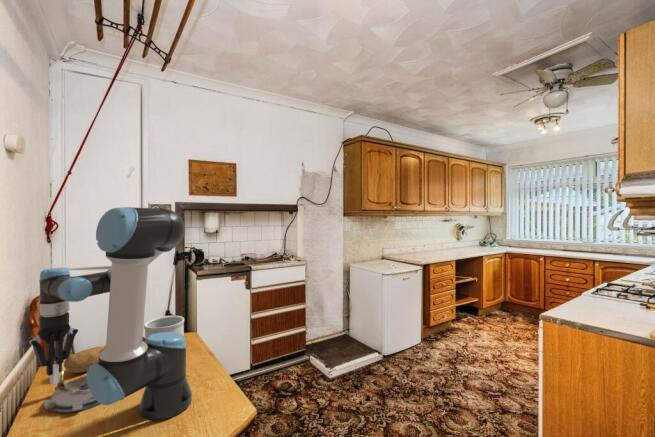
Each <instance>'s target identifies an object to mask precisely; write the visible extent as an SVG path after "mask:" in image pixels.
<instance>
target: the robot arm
mask: <svg viewBox="0 0 655 437" xmlns="http://www.w3.org/2000/svg"><path fill="white" fill-rule="evenodd" d="M95 231H96V232H95V240H96V241H97V247H98V248H99V249H100V250H101V251H102V252H104V253H105V258H106V259H107V260H109V261H110V262H111V267H110V268H109V269H108V270H106V271H102V272H96V273H94V272H93V273H87V274H81V275H76V276H71V274H70V269H69V268H68V267H51V268H45V269H42V270H41V271H40V274H39V280H38V282H39V316H40V317H39V331H38V332H37V336H35V337H34V338H32V339H29V340H28V343H29V345H31V346H32V348H33V351H34V354H35V357H36V359H37V362H38V365H39V366H41V367H46V369H45V370H46V375H47V376H49V383H50V384H51V385H52V386H54V385H57V383H59V372H61V371H62V370H63V364H64V362H65V360H66V359H68V358H69V356H70V355H71V351H72V348H73V344H74V340H75V337H76V335H77V333H78V332H79V329H78V328H75V327H71V325H70V324H69V323H70V312H69V311H70V303H71V302H72V303H73V302H74V303H76V302H82V301H84V300H85V299H87V298H89V297H93V296H99V295H103V294H108V293H109V296H108V297H109V298H108V312H107V313H108V314H107V328H106V340H105V343H106V344H105V346H104V347H103V349H101V350H100V352H99V358H98V363H96V364H93V365H92V366H90V367H89V369H88V370H87V371H86V376H87V384H88V387H89V390H90V392H91V394H92V395H93V397H94V398H95V399H96V400H97V401H98V402H99V403H101V404H100V405H103V406H110V405H113V404H115V403H117V402H120V401H123V400H124V399H125V398H127V397H128V396H131V395H133V394H134V393H137V392H139V391H140V390H143V389H144V391H143V394H142V397H141V399H140V403H139V407H138V408H139V410H138V412H139V415H140V416H141V417H142V418H144V419H147V421H160V420H161V421H162V420H167V419H170V418H172V417H175V416H177V415H178V414H180V413H182V412H184V411H185V410H186V409H188V407H189V406H190V405H191V403H192V400H193V399H192V398H193V393H192V390H191V387H190V384H189V382H188V378H187V373H186V372H187V344H186V337H185V335H182V334H180V333H175V332H164V333H157V334H152V335H150V336H148V337H147V338H146V340H145V342H143V341H142V338H143V337H144V336H143V334H144V325H145V323H144V322H145V309H146V296H147V287H148V286H147V282H148V273H149V272H148V271H149V270H148V269H149V265H150V264H151V263H152V262H154V261H155V260H157V258H159V257H160V256H161V255H162V254H163V253H168V252H172V250H173V249H174V248H176V247H177V246H178V245H179V244H180V243H181V242H182V240H183V238H184V236H185V232H186V226H185V222H184V220H183V218H182V217H181V216H180V215H179V214H178V213H177V212H175V211H174V210H171V209H169V208H162V207H159V208H156V207H155V208H153V207H131V206H126V207H124V206H123V207H114V208H111V209H109V210H107V211H105V212H104V214H102V216H101V217H100V219H99V221H98V223H97V225H96V230H95ZM66 335H67V336H66ZM65 337H66V339H65ZM41 340H42V341H43V342H44V344H45V354H44V352H43V348H42V345H41V344H40V343H41ZM64 341H65V343H64ZM54 361H55V362H54Z"/></svg>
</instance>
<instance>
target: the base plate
mask: <svg viewBox="0 0 655 437" xmlns="http://www.w3.org/2000/svg"><path fill="white" fill-rule="evenodd" d="M100 405H102V404H101V403H99V402H98V401H97V402H94V403H92V404H89V405H85V406H84V407H83V409H79V410H75V411H73V408H71V409H59V408H55V407H52V408H50V409H49V410H50V411H51V413H54V414H61V415H64V414H65V415H66V414H74V413H79V412H83V411H86V410H90V409H92V408H95V407H98V406H100Z"/></svg>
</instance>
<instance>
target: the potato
mask: <svg viewBox="0 0 655 437" xmlns="http://www.w3.org/2000/svg"><path fill="white" fill-rule="evenodd" d="M103 348H104V347H103V346H94V347H92V348H87V349H84V350H80V351H78V352H76V353H73V354H70V355H69V358H68V359H65V360H64V362H63V364H64V365H63V366H64V368H65V370H66V371H68V372H70V373H74V374H80V373H85V372H86V373H87V370H88V369H89V367H90V366H92V365H93V364H96V363H98V358H99V352H100V350H101V349H103Z"/></svg>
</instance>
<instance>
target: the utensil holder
mask: <svg viewBox="0 0 655 437" xmlns="http://www.w3.org/2000/svg"><path fill="white" fill-rule="evenodd" d="M184 323H185V317H183V316H181V315H165V316H160V317H156V318H152V319H149V320H147V321H146V322H145V323H144V325H143V330H144V336H145V337H144V338H145V340H146V338H147V337H148V336H150V335H152V334H157V333H164V332H175V333H180V334H182V335H184V334H185V332H184V331H185V329H184V328H185V327H184ZM184 336H185V335H184Z"/></svg>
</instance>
